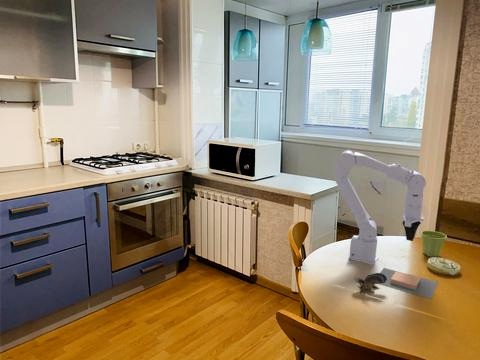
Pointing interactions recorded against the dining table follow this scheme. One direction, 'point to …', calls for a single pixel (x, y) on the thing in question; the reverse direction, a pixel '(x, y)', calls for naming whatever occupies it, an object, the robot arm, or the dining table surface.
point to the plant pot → (432, 242)
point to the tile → (405, 280)
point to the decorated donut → (443, 266)
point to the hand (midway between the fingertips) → (409, 240)
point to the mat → (423, 289)
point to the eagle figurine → (370, 281)
